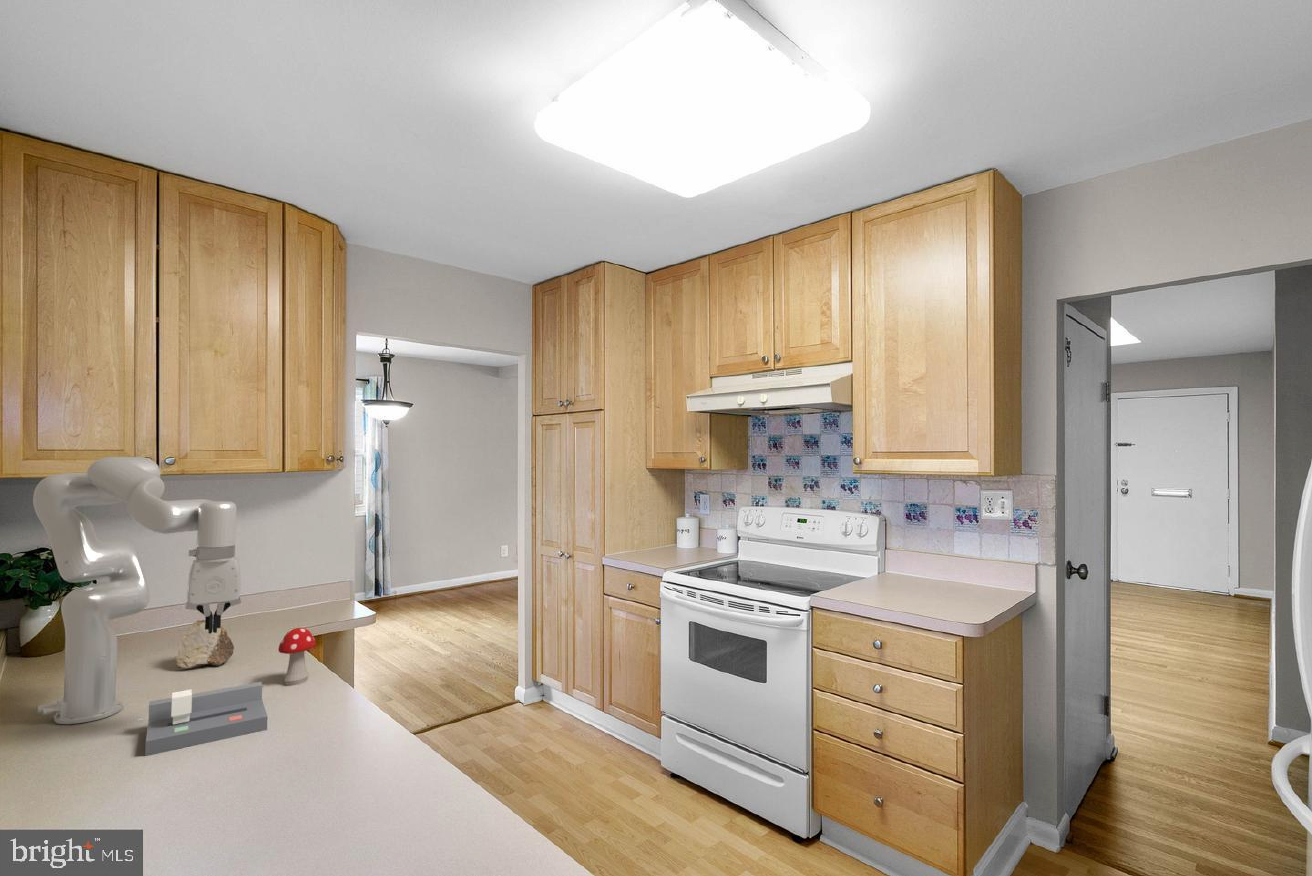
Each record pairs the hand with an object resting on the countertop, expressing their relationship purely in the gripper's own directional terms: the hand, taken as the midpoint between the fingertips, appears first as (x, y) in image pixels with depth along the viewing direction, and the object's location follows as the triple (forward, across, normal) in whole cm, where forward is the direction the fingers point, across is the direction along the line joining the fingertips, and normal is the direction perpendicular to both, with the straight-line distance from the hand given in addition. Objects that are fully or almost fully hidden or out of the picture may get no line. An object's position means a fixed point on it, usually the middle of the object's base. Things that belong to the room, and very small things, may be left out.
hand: (212, 631), depth 148 cm
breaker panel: (+22, 0, -2) cm, 22 cm away
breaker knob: (+19, -5, -2) cm, 20 cm away
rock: (+23, 0, +54) cm, 59 cm away
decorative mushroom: (+22, +21, +22) cm, 38 cm away
